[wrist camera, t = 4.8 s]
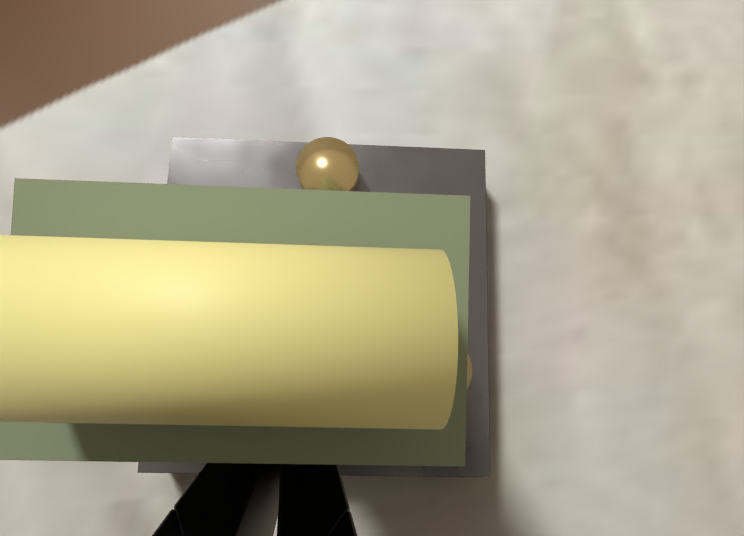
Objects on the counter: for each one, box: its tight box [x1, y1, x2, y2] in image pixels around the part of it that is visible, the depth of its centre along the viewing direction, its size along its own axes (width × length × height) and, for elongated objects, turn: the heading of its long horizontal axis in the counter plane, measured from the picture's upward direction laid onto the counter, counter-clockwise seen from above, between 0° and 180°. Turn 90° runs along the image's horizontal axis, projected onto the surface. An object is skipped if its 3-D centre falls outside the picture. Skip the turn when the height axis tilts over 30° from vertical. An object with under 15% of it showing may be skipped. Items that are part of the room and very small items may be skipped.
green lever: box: [0, 178, 470, 467], centre depth 10 cm, size 3×5×13 cm, turn 88°
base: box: [138, 137, 490, 477], centre depth 16 cm, size 13×13×5 cm
